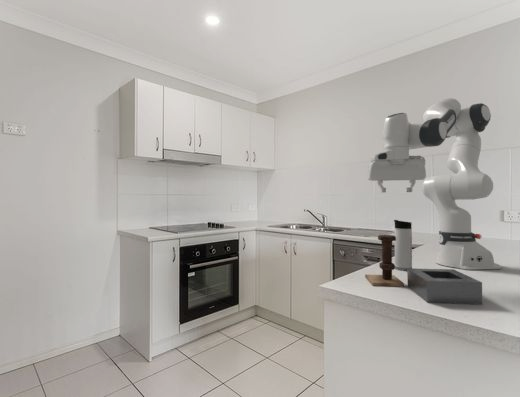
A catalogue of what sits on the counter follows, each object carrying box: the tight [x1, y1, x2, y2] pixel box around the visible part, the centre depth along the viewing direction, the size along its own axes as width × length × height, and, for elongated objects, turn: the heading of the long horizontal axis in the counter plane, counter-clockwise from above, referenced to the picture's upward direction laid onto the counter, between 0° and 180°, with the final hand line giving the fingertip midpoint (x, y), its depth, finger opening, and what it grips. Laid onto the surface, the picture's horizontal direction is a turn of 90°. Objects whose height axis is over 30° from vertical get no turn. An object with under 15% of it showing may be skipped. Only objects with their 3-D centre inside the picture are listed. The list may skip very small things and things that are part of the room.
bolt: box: [377, 234, 396, 280], centre depth 98 cm, size 6×5×15 cm
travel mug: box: [393, 219, 413, 272], centre depth 115 cm, size 6×7×20 cm
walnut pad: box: [364, 274, 405, 288], centre depth 98 cm, size 10×10×1 cm
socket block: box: [406, 267, 483, 305], centre depth 85 cm, size 14×14×6 cm
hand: (396, 192), depth 108 cm, fingers open, 8 cm apart
